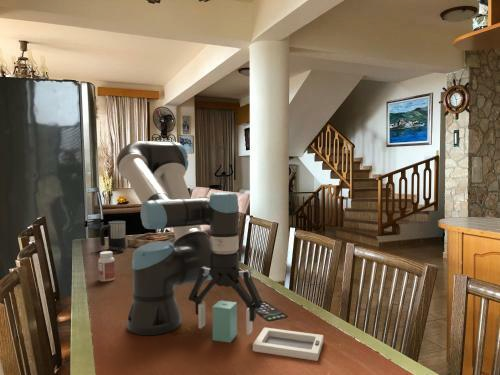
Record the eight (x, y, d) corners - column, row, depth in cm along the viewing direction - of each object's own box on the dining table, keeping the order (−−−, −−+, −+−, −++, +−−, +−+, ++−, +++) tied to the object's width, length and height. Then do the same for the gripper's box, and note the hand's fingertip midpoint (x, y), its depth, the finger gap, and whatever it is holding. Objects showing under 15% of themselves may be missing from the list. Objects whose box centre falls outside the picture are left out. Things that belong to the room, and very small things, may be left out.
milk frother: (119, 246, 222) (119, 220, 221) (137, 249, 213) (137, 222, 212) (97, 250, 211) (96, 223, 210) (114, 254, 202) (114, 225, 201)
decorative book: (154, 248, 217) (154, 239, 217) (143, 243, 230) (143, 235, 230) (173, 245, 224) (173, 237, 224) (161, 241, 237) (161, 233, 237)
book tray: (127, 246, 221) (127, 239, 221) (148, 239, 241) (148, 232, 241) (164, 249, 214) (164, 241, 213) (183, 241, 234) (183, 235, 234)
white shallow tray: (252, 351, 98) (252, 342, 98) (264, 333, 108) (264, 326, 108) (317, 360, 93) (317, 352, 93) (323, 341, 103) (323, 334, 103)
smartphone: (268, 321, 116) (245, 304, 129) (268, 323, 116) (245, 306, 129) (289, 316, 120) (264, 300, 133) (289, 318, 120) (264, 302, 133)
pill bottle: (117, 277, 161) (116, 250, 161) (112, 281, 155) (111, 254, 155) (101, 277, 161) (101, 250, 161) (96, 281, 155) (95, 254, 154)
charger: (212, 340, 104) (212, 306, 104) (219, 332, 109) (219, 300, 108) (230, 342, 103) (230, 308, 102) (236, 334, 107) (236, 302, 107)
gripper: (175, 251, 105) (176, 329, 106) (266, 257, 97) (266, 341, 98) (188, 245, 112) (189, 318, 113) (273, 250, 104) (273, 329, 105)
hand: (225, 329), depth 105 cm, fingers open, 13 cm apart
